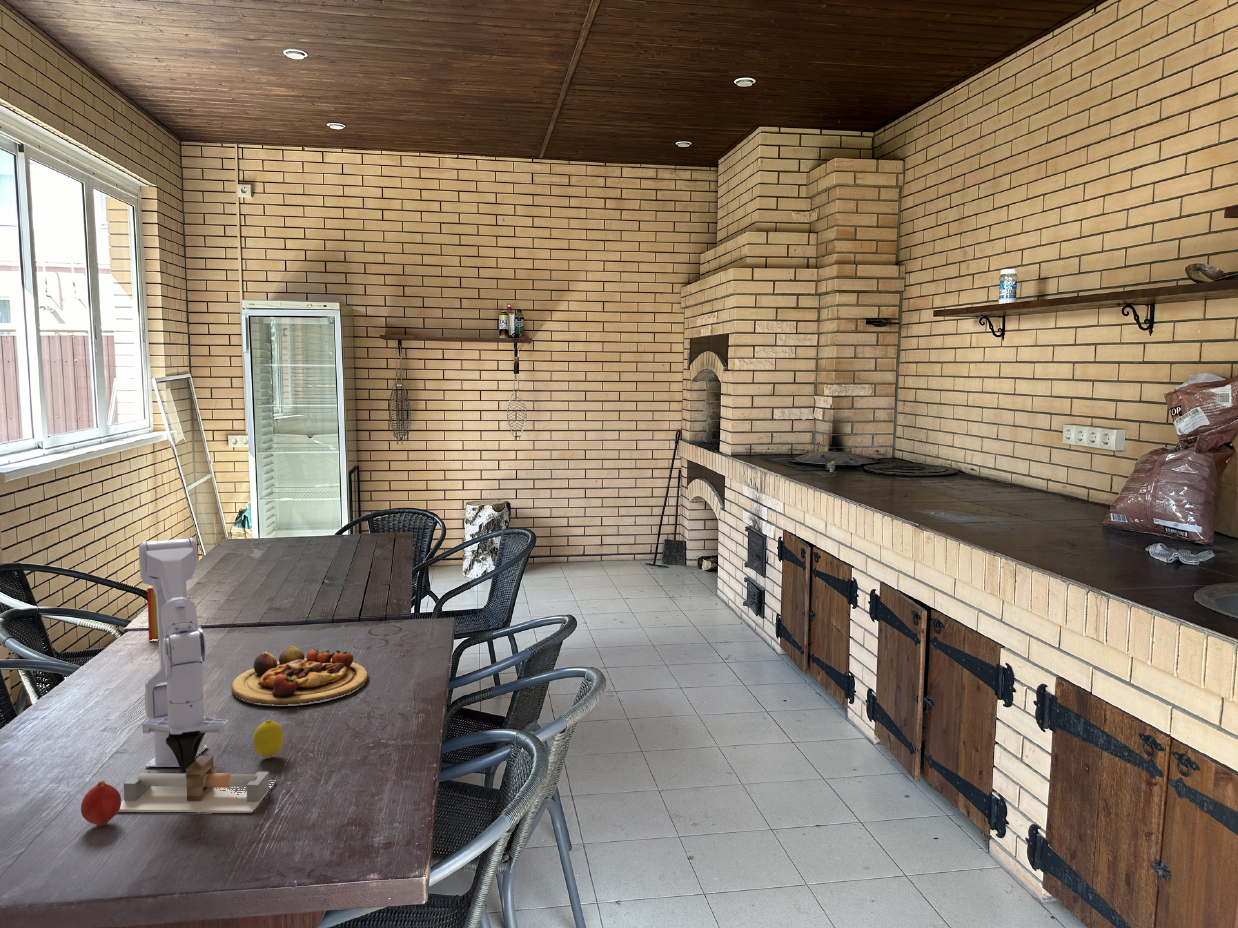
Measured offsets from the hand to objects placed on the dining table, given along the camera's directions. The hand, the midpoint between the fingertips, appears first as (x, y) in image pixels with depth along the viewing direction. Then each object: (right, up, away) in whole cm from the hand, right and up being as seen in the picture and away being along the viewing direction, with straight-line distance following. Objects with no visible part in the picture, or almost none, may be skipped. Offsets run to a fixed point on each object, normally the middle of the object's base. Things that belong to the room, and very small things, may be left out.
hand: (187, 770), depth 149 cm
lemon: (+8, -4, +17) cm, 19 cm away
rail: (+2, -5, +1) cm, 5 cm away
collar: (+2, -5, +1) cm, 6 cm away
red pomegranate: (-10, -6, -9) cm, 15 cm away
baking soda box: (-55, +5, +92) cm, 108 cm away
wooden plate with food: (-1, 0, +57) cm, 57 cm away
